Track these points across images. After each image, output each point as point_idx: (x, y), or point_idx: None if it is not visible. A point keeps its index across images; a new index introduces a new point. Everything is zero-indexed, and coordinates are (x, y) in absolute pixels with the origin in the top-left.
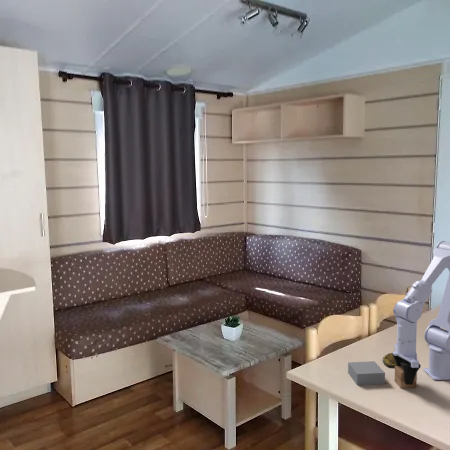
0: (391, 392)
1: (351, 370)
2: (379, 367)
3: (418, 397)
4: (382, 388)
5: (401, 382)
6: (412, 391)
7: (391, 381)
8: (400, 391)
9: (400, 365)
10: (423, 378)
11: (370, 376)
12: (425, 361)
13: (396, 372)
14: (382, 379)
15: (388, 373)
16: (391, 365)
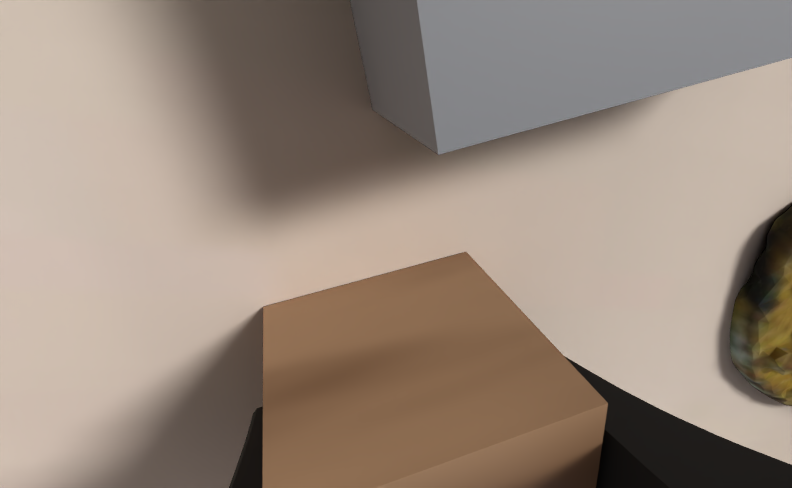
0: (55, 176)
1: None
2: (714, 64)
3: (43, 480)
4: (177, 36)
5: (268, 372)
6: (205, 422)
7: (452, 214)
8: (153, 303)
9: (609, 483)
10: None
11: None
12: None
13: (473, 364)
14: (384, 75)
15: (654, 200)
16: (785, 254)
